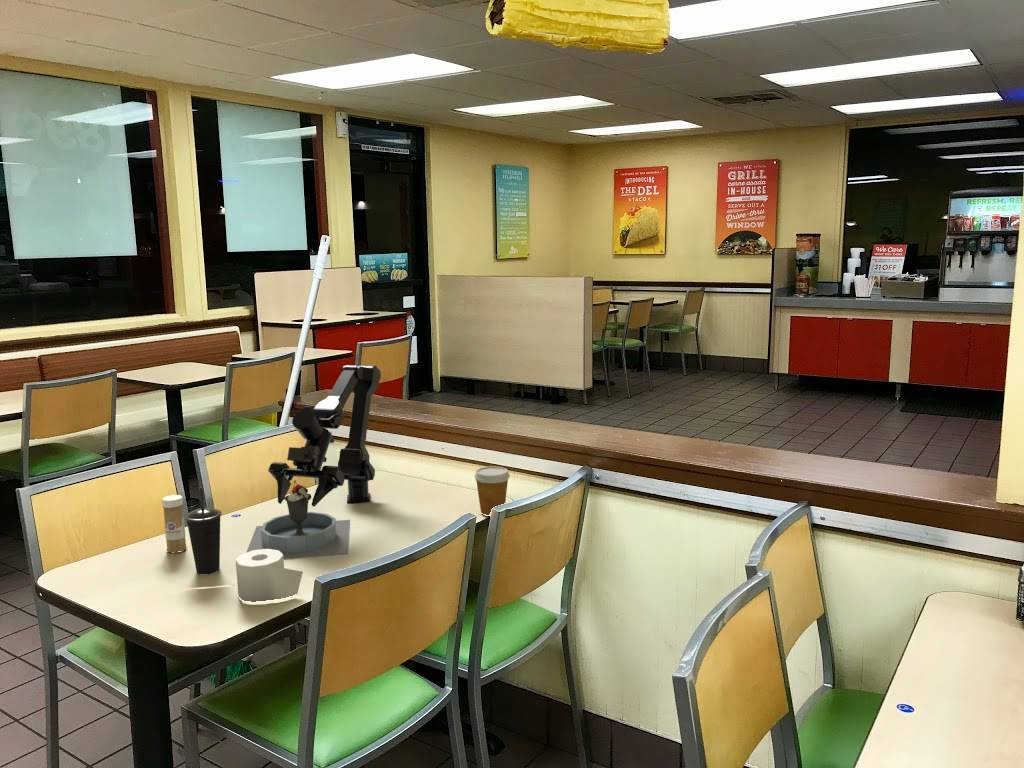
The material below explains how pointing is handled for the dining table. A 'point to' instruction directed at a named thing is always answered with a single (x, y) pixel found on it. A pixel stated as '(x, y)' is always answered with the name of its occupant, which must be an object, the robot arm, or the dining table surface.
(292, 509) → the sundae
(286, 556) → the mat
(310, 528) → the bowl
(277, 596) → the toilet tissue
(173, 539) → the sprinkles bottle
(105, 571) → the dining table surface
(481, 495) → the disposable coffee cup
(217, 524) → the drinking cup
